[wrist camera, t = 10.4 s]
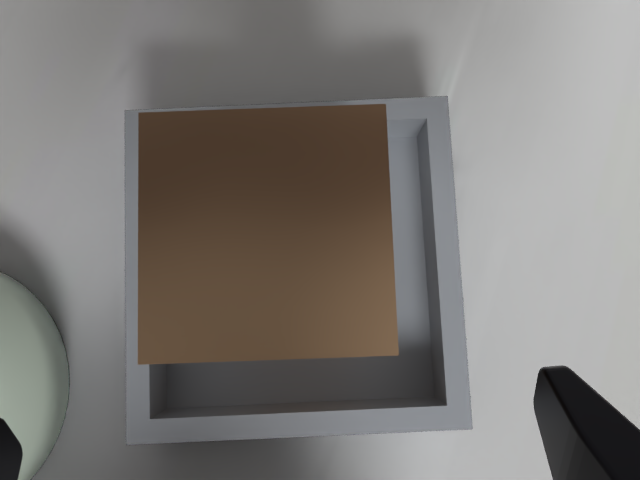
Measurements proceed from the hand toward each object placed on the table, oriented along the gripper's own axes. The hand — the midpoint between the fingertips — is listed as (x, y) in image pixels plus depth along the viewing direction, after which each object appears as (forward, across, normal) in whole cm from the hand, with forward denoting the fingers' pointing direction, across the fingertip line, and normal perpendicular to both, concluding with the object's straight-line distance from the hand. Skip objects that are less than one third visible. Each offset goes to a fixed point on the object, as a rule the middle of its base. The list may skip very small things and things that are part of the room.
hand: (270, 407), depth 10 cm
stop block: (+11, 0, +6) cm, 13 cm away
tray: (+12, 0, +7) cm, 13 cm away
